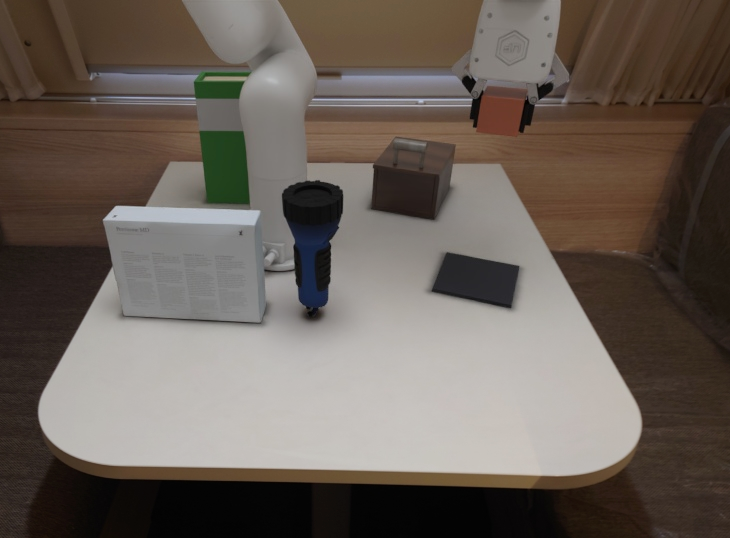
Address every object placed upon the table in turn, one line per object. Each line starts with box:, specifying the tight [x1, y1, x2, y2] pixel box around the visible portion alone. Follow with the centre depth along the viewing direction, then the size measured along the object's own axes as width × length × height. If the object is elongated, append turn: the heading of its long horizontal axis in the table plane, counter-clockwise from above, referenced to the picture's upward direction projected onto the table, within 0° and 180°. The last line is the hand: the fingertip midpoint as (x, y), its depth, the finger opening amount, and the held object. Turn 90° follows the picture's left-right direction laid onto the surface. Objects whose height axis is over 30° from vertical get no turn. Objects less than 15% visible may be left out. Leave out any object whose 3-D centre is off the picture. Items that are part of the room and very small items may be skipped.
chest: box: [370, 148, 456, 220], centre depth 116 cm, size 16×13×9 cm
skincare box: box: [102, 205, 267, 324], centre depth 83 cm, size 21×5×16 cm, turn 84°
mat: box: [431, 251, 520, 309], centre depth 93 cm, size 12×12×1 cm
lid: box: [372, 136, 457, 178], centre depth 112 cm, size 16×13×6 cm
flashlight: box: [282, 179, 344, 318], centre depth 80 cm, size 8×8×20 cm
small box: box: [475, 85, 528, 138], centre depth 80 cm, size 6×6×5 cm
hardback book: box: [193, 70, 252, 204], centre depth 113 cm, size 18×7×24 cm, turn 87°
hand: (499, 126), depth 81 cm, fingers closed on small box, 5 cm apart
